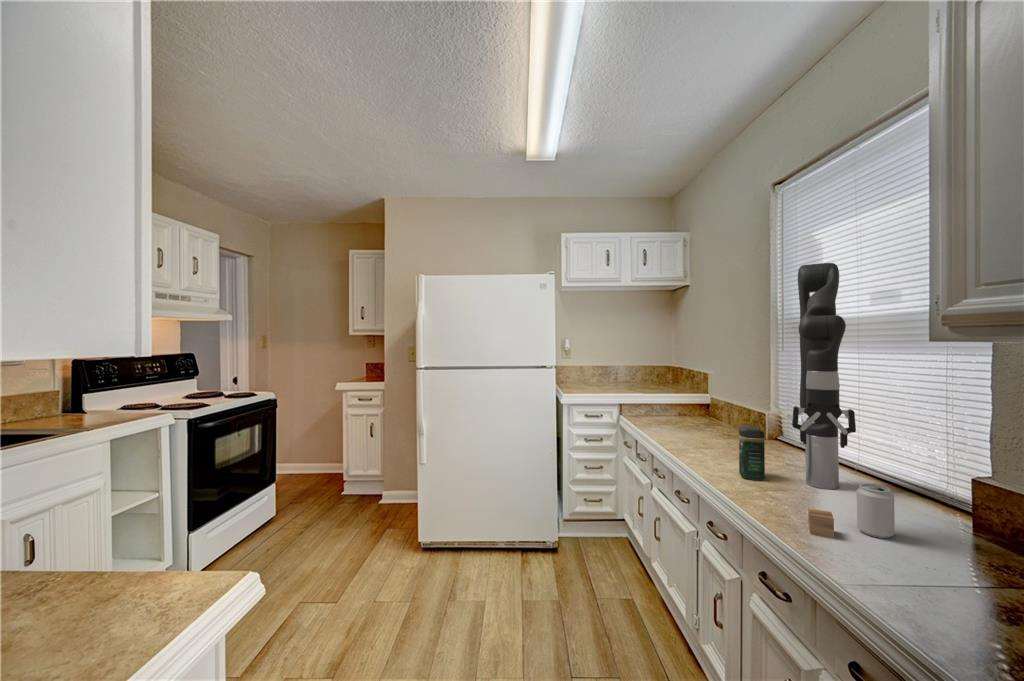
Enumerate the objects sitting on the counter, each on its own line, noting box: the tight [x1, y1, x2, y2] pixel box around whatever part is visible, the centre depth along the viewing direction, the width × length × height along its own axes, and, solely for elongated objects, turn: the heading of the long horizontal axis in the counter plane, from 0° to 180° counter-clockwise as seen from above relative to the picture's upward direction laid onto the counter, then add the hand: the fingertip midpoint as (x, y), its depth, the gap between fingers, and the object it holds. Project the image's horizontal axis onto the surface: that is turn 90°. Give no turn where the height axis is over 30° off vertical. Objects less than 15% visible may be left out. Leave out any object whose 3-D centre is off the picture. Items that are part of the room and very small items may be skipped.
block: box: [807, 507, 835, 539], centre depth 113 cm, size 5×5×5 cm
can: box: [856, 483, 896, 539], centre depth 112 cm, size 8×8×12 cm
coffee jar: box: [738, 424, 766, 481], centre depth 159 cm, size 10×8×19 cm
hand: (823, 445), depth 121 cm, fingers open, 8 cm apart
